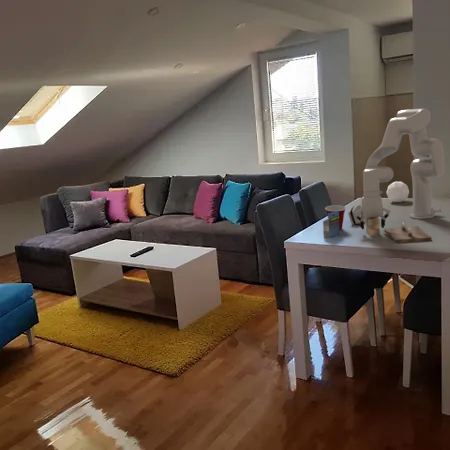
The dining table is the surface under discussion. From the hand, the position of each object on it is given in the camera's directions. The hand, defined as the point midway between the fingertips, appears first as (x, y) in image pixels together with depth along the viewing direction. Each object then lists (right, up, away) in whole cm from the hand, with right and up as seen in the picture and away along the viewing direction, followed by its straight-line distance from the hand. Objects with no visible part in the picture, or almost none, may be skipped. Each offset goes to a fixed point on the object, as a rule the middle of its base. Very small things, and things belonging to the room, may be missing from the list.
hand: (372, 228), depth 245 cm
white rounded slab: (+1, +3, +28) cm, 28 cm away
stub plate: (+13, -4, -10) cm, 17 cm away
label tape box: (-19, -4, +5) cm, 20 cm away
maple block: (0, -3, +1) cm, 3 cm away
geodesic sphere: (+37, +16, +68) cm, 79 cm away
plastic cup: (-14, -1, +16) cm, 21 cm away
